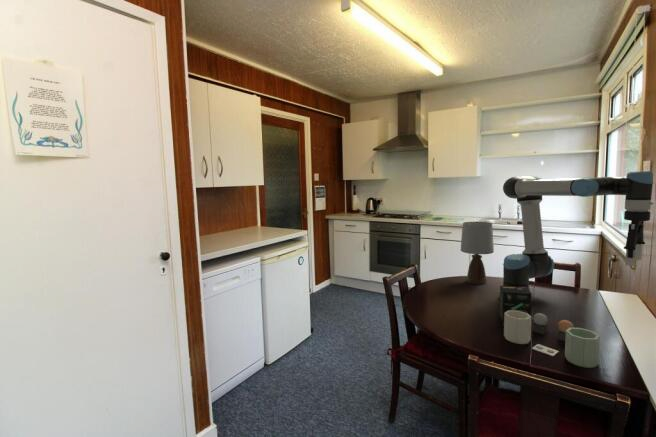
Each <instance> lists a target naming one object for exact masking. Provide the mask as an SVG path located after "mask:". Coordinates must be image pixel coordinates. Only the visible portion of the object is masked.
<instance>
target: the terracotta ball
mask: <svg viewBox="0 0 656 437" xmlns="http://www.w3.org/2000/svg"><path fill="white" fill-rule="evenodd" d="M557 328H558V329H559V331H562V332H563V333H566V330H567V329H568V328H575V326H574V324H573V323H572V322H571V321H569V320H567V319H562V320H560V321H559V322H558V324H557Z"/></svg>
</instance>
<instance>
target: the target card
mask: <svg viewBox="0 0 656 437" xmlns="http://www.w3.org/2000/svg"><path fill="white" fill-rule="evenodd" d="M531 350H534V351H537V352H539V353H542V354H544V355H545V354H546V355H548V356H551V357H554V356H556V355H557V354H558V353H559V352H560V351H559V350H556V349H553V348H550V347H548V346H545V345H543V344H540V343H537V344H536V345H534V346H533V347H531Z"/></svg>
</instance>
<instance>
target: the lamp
mask: <svg viewBox="0 0 656 437" xmlns="http://www.w3.org/2000/svg"><path fill="white" fill-rule="evenodd" d="M461 228H462V230H461V242H460V252H462V253H464V254H465V253H466V254H469V255H470V254H471V258H472V259H471V260H470V262H469V265H468V269H467V277H466V282H467V283H469V284H471V283H472V285H485V284H486V283H487V274H486V268H485V264H484V262H483V259H482V258H483V256H482V255H490V254H494V252H495V249H494V246H495V245H494V230H493V223H492V222H489V221H465V222H464V221H463V222H462V227H461Z"/></svg>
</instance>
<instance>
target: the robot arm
mask: <svg viewBox="0 0 656 437" xmlns="http://www.w3.org/2000/svg"><path fill="white" fill-rule="evenodd" d="M653 184H654V173H653V172H652V171H650V170H647V171H646V170H645V171H641V170H640V171H628V172H627V174H626V176H601V177H579V178H575V177H574V178H555V179H554V178H551V179H546V178H545V179H543V178H541V177H539V176H537V175H536V176H534V175H527V176H526V175H525V176H522V175H521V176H513V177H509V178H508V179H506V180H505V182H504V183H503V186H502V191H503V193H504V194H505V196H506V197H507V198H510V199H515V200H516V203H517V204H518V205H520V210H521V222H522V231H523V239H524V240H523V241H524V250H523V251H522V253H517V254H516V253H513V254H508V255H506V256H504V259H503V264H502V266H503V271H502V272H503V273H502V274H503V278H502V279H503V282H502V286H511V287H527V289H528V290H529V291H530V293H531V304H533V298H534V297H533V294H532V292H531V288H530V279H535V278H543V277H546V276H549V275H550V274H551V273H553V271H554V269H555V261H554V259H553V258H552V257H551V256H550V255H549V252H548V250H546V249H545V247H544V246H545V245H544V238H543V228H542V216H541V206H540V205H541V204H540V203H542V201H543V196H551V197H553V196H555V197H556V196H557V197H558V196H559V197H560V196H561V197H565V196H566V197H567V196H569V197H583V198H585V197H593V196H594V197H596V196H625V199H624V209H625V210H624V213H623V214H624V215H623V218H624V220H625V221H630V223H629V224H628V230H627V236H626V241H625V242H626V243H625V246H623V249H624V250H625V262H624V263H625V264H624V265H625V266H629V267H635V266H636V261H641V260H642V257H643V256H642V254H643V245H646V241H645V240H644V226H645V225H644V222H648V221H650V220H651V211H650V210H651V208H652V207H651V206H652V205H654V202H653V201H652V193H653ZM498 294H499V296H498V298H499V299H500V292H499V293H498Z"/></svg>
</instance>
